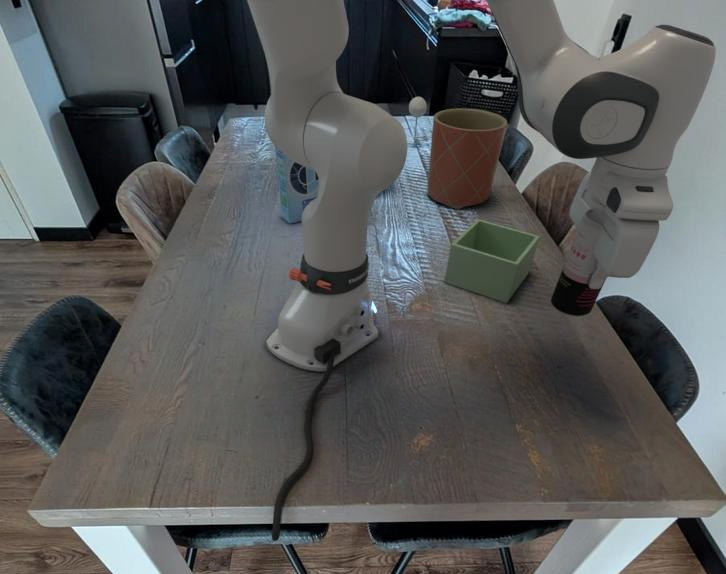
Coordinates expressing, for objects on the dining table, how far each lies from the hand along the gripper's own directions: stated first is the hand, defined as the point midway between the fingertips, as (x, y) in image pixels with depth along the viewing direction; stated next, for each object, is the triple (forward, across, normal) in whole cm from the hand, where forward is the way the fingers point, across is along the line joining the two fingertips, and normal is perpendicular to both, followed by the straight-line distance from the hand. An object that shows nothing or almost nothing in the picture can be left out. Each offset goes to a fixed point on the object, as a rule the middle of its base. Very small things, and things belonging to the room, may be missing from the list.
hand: (585, 273), depth 74 cm
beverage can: (+6, 0, 0) cm, 6 cm away
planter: (+18, -74, -8) cm, 76 cm away
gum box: (+19, -60, -48) cm, 79 cm away
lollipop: (+18, -115, -19) cm, 118 cm away
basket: (+18, -30, -6) cm, 35 cm away
